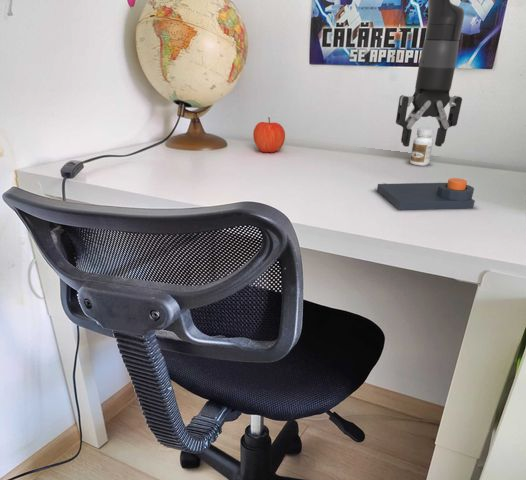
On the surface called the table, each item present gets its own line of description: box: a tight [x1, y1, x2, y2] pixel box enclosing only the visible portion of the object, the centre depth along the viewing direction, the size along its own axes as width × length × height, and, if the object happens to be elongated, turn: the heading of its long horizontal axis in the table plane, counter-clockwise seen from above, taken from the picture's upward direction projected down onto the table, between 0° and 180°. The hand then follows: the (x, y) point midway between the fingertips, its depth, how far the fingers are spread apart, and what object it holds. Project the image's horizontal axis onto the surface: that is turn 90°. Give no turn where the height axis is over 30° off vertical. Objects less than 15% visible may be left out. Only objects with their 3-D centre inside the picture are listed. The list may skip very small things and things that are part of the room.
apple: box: [252, 117, 286, 153], centre depth 123 cm, size 8×8×8 cm
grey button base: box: [376, 182, 476, 211], centre depth 92 cm, size 14×12×3 cm
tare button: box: [447, 177, 468, 190], centre depth 89 cm, size 3×3×2 cm
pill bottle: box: [409, 126, 434, 167], centre depth 115 cm, size 4×4×8 cm
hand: (422, 145), depth 115 cm, fingers open, 7 cm apart
